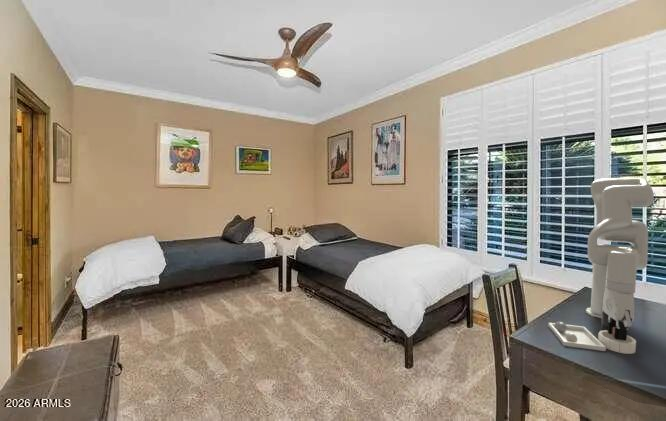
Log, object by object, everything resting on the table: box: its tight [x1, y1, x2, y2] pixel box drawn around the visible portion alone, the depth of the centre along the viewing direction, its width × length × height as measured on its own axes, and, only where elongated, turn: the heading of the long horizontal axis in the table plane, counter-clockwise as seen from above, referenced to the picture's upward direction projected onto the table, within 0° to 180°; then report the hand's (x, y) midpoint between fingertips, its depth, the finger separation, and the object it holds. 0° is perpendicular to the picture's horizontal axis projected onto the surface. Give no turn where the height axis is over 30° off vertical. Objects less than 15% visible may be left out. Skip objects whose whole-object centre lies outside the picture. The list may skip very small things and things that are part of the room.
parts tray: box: [548, 322, 607, 352], centre depth 114 cm, size 16×12×2 cm
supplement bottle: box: [600, 311, 624, 331], centre depth 117 cm, size 7×7×12 cm
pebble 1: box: [554, 320, 567, 332], centre depth 119 cm, size 4×4×4 cm
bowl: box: [597, 330, 637, 355], centre depth 108 cm, size 10×10×4 cm
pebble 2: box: [565, 333, 577, 342], centre depth 110 cm, size 3×3×3 cm
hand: (616, 336), depth 108 cm, fingers closed on pebble 3, 3 cm apart
